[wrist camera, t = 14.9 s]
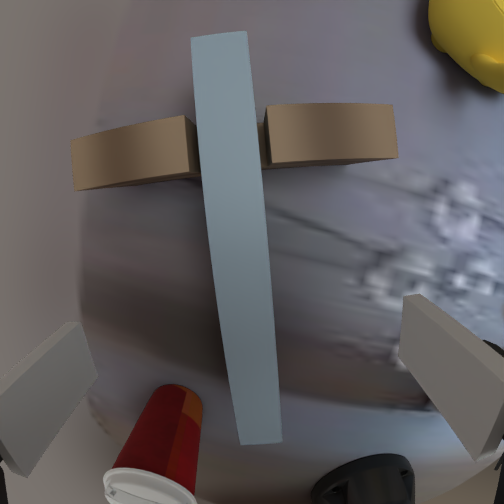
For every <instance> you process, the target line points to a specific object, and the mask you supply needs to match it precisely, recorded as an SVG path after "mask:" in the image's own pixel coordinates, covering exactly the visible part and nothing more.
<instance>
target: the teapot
mask: <svg viewBox="0 0 504 504" xmlns="http://www.w3.org/2000/svg"><path fill="white" fill-rule="evenodd" d="M428 20H429V26H430V30H431V32H432V35H431V41H432V43H433V45H434V46H435V47H436V49H438V50H439V51H440V52H443V53H448V54H449V55H450V57H451V58H452V59H453V60H454V61H455V62H456V63H458V64H459V65H460V66H461V67H462V68H463V69H464V70H465V71H466V72H468V73H469V74H470V75H471V76H473V77H474V78H476V79H477V80H478V81H479V82H480V83H481V84H482V85H483V86H486V87H490V88H492V89H494V90H496V91H498V92H500V93H502V94H504V0H429V8H428Z"/></svg>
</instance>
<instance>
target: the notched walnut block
mask: <svg viewBox="0 0 504 504" xmlns="http://www.w3.org/2000/svg"><path fill="white" fill-rule="evenodd" d="M257 133H258V143H259V153H260V163H261V170H266V169H278V168H292V167H308V166H326V165H348V164H355V163H363V162H370V161H378V160H386V159H394V158H398V147H397V137H396V128H395V120H394V113H393V105H388V104H364V103H308V104H284V105H268V106H266V112H265V117H264V123H257ZM71 157H72V170H73V181H74V190H75V191H82V190H91V189H102V188H113V187H124V186H136V185H142V184H148V183H155V182H162V181H169V180H176V179H183V178H191V177H199V176H202V175H201V165H200V155H199V144H198V133H197V126H196V125H194V124H193V123H192V122H191V121H190V120H189V119H188V118H187V117H186V116H185V115H182V116H176V117H170V118H164V119H159V120H153V121H148V122H143V123H138V124H134V125H129V126H124V127H120V128H116V129H112V130H107V131H103V132H99V133H96V134H92V135H88V136H84V137H81V138H77V139H74V140H71Z"/></svg>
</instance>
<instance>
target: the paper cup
mask: <svg viewBox="0 0 504 504" xmlns="http://www.w3.org/2000/svg"><path fill="white" fill-rule="evenodd" d="M201 423H202V403H201V400H200V398H199V397H198V396H197V395H196V394H195V393H194V392H193V391H191V390H190V389H188V388H186V387H183V386H180V385H175V384H168V385H163V386H161V387H159V388H158V389H157V390H156V391H155V392H154V393H153V395H152V396H151V398H150V400H149V401H148V403H147V405H146V407H145V408H144V410H143V412H142V414H141V416H140V417H139V419H138V421H137V423H136V425H135V427H134V428H133V430H132V432H131V434H130V436H129V438H128V440H127V441H126V443H125V445H124V447H123V449H122V450H121V452H120V454H119V456H118V458H117V460H116V462H115V464H114V466H113V467H112V469H111V470H109V471H107V472H106V473H105V474H104V477H103V482H104V486H105V491H104V493H105V497H106V498H107V500H108V501H109V502H110V504H197V501H196V499H195V497H194V493H195V482H196V472H197V462H198V452H199V443H200V433H201Z"/></svg>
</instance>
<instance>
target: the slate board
mask: <svg viewBox="0 0 504 504" xmlns="http://www.w3.org/2000/svg"><path fill="white" fill-rule="evenodd" d="M191 51H192V68H193V82H194V96H195V109H196V121H197V133H198V144H199V155H200V165H201V175H202V185H203V194H204V203H205V212H206V221H207V230H208V238H209V246H210V254H211V262H212V270H213V277H214V285H215V292H216V299H217V306H218V313H219V320H220V327H221V334H222V340H223V347H224V353H225V359H226V366H227V372H228V378H229V384H230V390H231V396H232V401H233V407H234V413H235V418H236V424H237V429H238V435H239V440H240V445H257V444H271V443H282V425H281V410H280V395H279V380H278V366H277V352H276V339H275V325H274V312H273V300H272V287H271V275H270V263H269V251H268V240H267V228H266V217H265V206H264V195H263V185H262V174H261V163H260V153H259V143H258V133H257V123H256V113H255V104H254V94H253V85H252V75H251V66H250V57H249V48H248V40H247V31H238V32H228V33H220V34H212V35H205V36H199V37H192V38H191Z"/></svg>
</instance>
